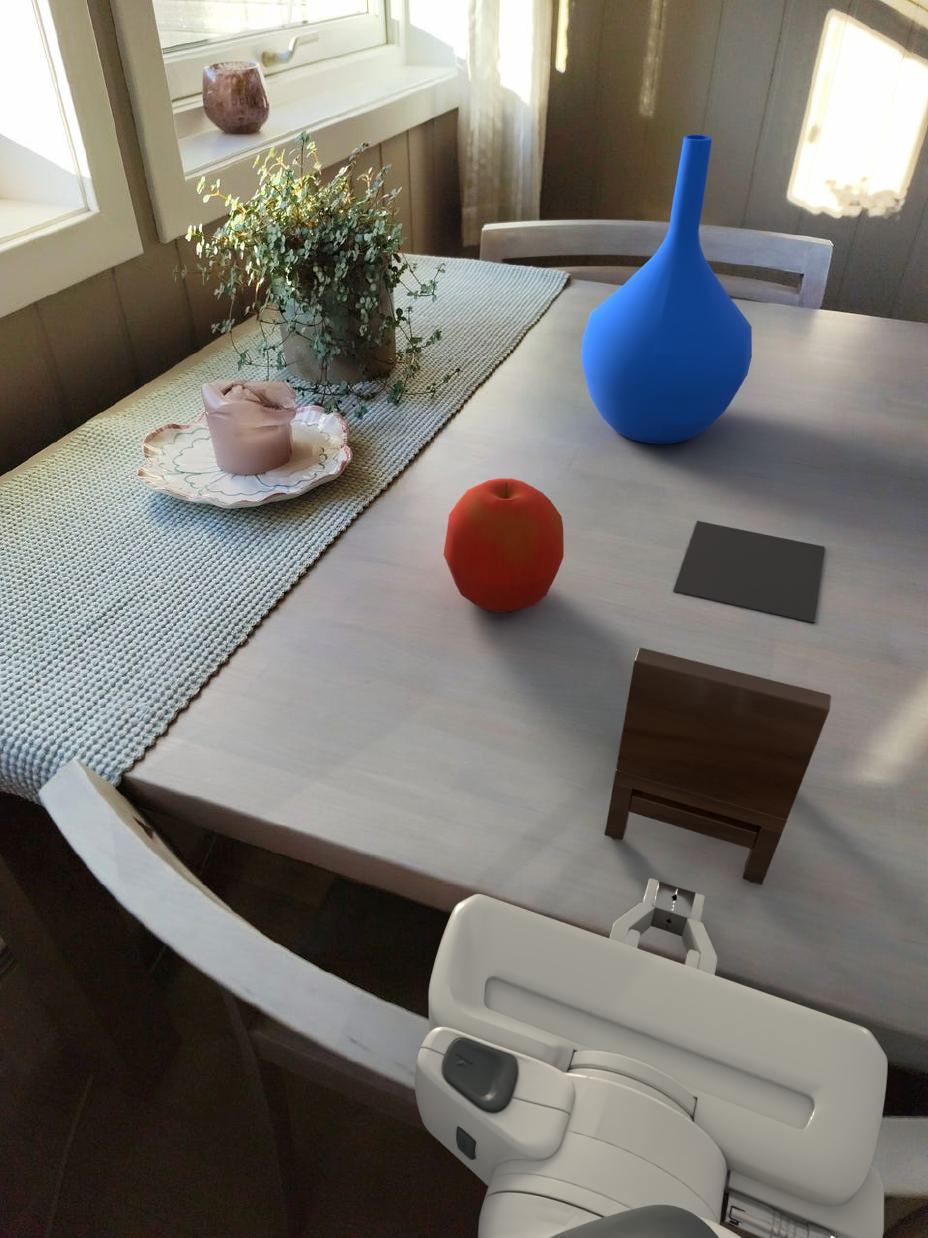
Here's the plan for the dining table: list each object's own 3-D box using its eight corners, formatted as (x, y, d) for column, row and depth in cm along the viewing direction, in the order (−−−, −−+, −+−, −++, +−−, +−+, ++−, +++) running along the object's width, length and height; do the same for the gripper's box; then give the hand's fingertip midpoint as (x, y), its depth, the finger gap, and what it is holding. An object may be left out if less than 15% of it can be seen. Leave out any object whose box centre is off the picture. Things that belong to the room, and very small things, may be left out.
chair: (760, 890, 54) (830, 710, 43) (603, 840, 57) (634, 660, 46) (778, 773, 61) (841, 595, 51) (637, 734, 64) (671, 558, 53)
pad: (814, 623, 73) (814, 622, 73) (673, 591, 77) (673, 590, 77) (824, 547, 82) (824, 546, 82) (696, 521, 85) (697, 520, 85)
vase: (675, 380, 110) (719, 112, 91) (768, 444, 97) (842, 148, 78) (547, 406, 105) (566, 126, 85) (627, 478, 92) (670, 168, 73)
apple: (579, 616, 74) (592, 501, 67) (469, 644, 71) (470, 527, 64) (531, 552, 81) (537, 442, 74) (429, 574, 79) (426, 462, 71)
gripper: (910, 1264, 30) (910, 927, 40) (381, 1045, 36) (495, 797, 46) (857, 1310, 34) (869, 994, 44) (389, 1106, 40) (492, 867, 50)
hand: (675, 892), depth 45 cm, fingers closed
